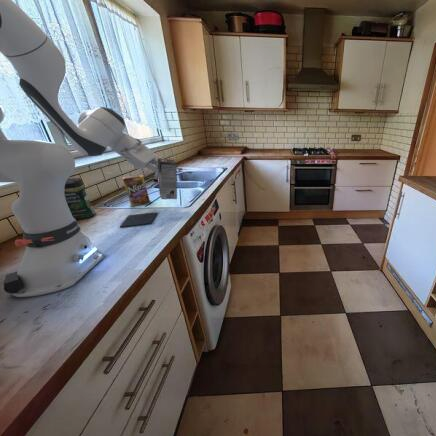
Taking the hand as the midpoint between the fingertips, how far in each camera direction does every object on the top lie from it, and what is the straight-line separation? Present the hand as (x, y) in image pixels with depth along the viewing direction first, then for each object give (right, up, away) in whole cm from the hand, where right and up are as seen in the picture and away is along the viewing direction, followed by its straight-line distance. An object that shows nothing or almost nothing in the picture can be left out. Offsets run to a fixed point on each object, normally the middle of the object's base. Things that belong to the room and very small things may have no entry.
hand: (160, 169), depth 99 cm
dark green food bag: (-42, -21, +9) cm, 48 cm away
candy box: (-24, -14, +23) cm, 36 cm away
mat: (-13, -22, +6) cm, 26 cm away
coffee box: (+1, -12, +4) cm, 12 cm away
